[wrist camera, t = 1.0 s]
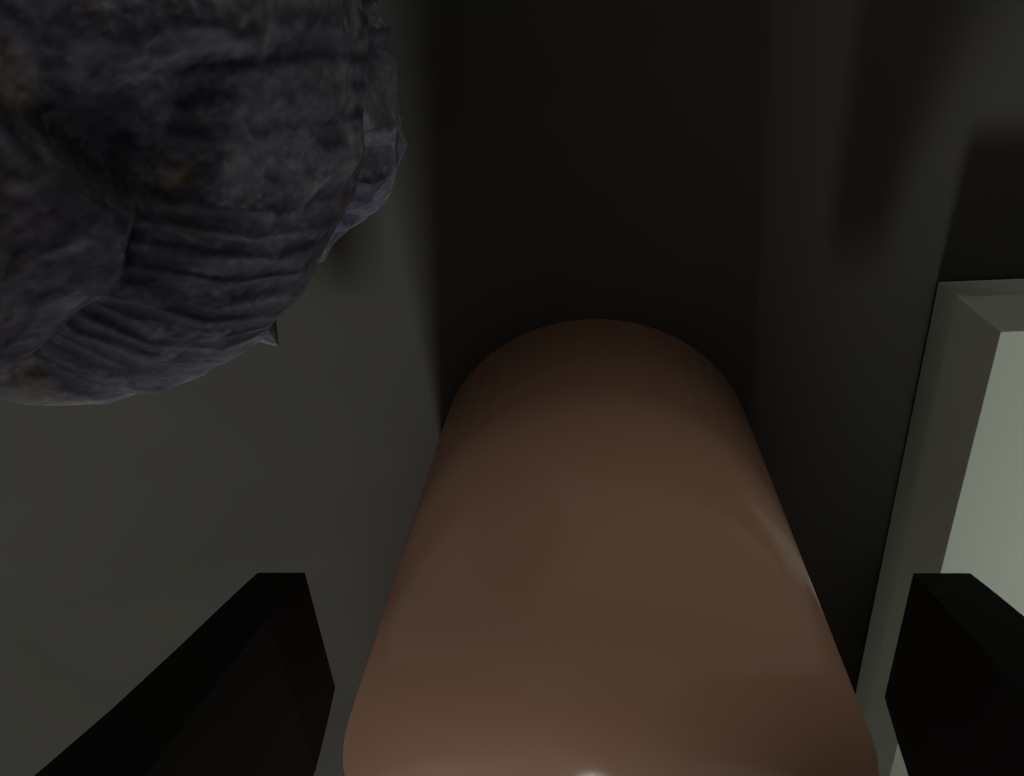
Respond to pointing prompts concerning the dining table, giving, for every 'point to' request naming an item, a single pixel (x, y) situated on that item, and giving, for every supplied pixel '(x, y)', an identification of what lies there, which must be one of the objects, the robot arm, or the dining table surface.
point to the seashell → (177, 180)
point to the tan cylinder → (602, 584)
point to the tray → (954, 477)
